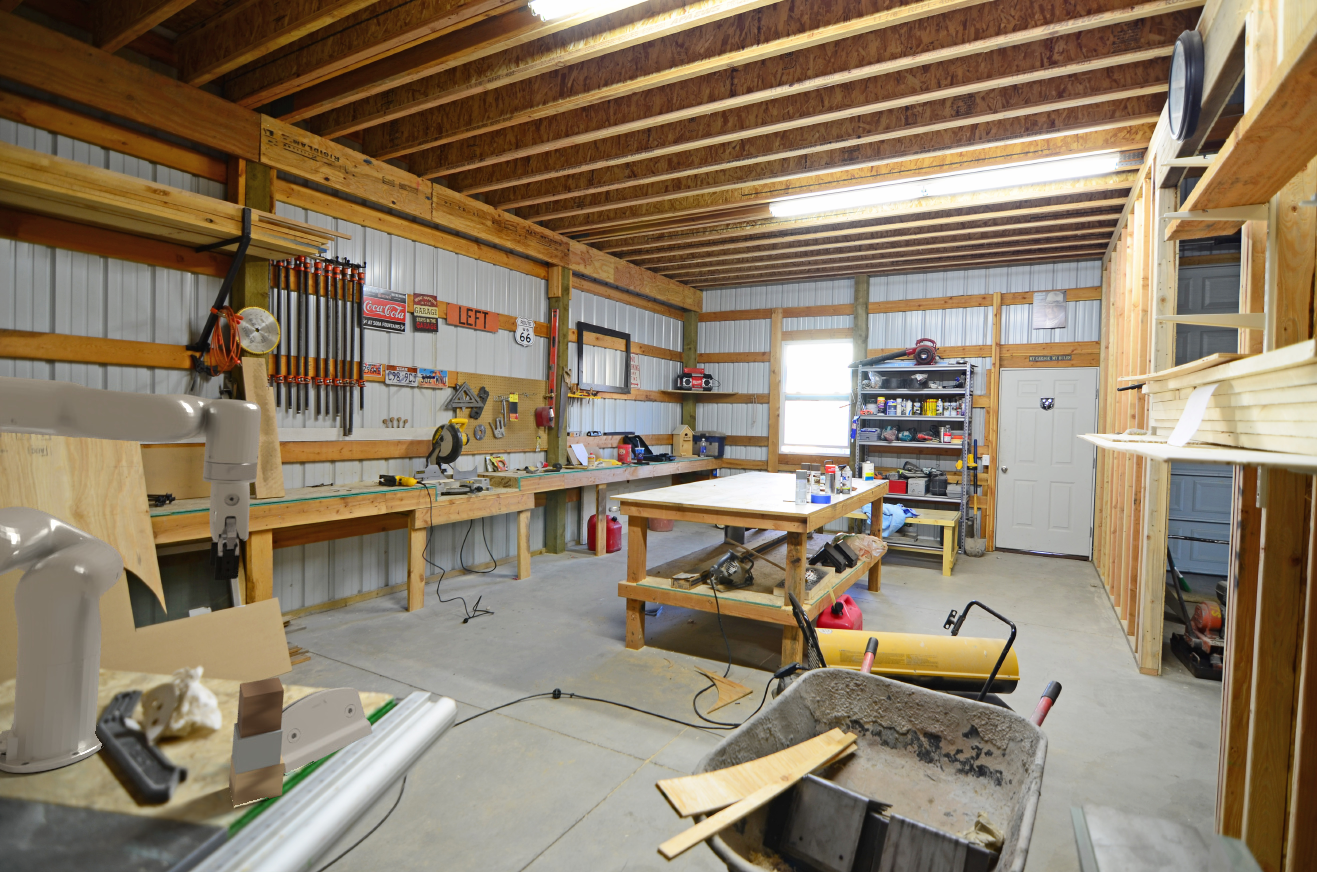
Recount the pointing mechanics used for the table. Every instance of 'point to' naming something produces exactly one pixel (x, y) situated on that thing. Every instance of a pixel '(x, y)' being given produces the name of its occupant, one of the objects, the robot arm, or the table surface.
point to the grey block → (256, 750)
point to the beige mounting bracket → (321, 725)
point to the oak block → (256, 783)
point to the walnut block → (260, 707)
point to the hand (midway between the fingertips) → (223, 571)
